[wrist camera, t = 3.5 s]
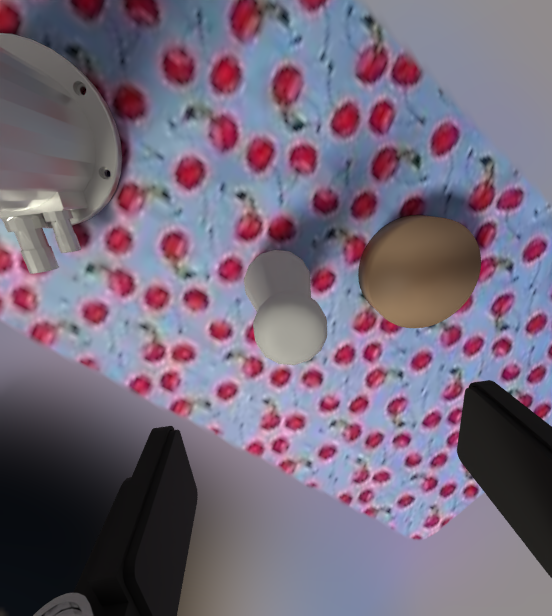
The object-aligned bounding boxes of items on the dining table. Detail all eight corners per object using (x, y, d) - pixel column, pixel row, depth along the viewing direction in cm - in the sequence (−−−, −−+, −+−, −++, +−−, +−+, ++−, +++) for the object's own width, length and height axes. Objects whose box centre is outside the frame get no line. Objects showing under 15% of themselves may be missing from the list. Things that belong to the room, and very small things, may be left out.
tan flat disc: (453, 309, 31) (473, 320, 29) (358, 321, 31) (369, 334, 28) (464, 208, 28) (488, 210, 25) (357, 222, 27) (369, 225, 25)
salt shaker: (276, 231, 27) (298, 263, 15) (317, 275, 29) (366, 336, 17) (231, 276, 28) (218, 339, 16) (274, 316, 30) (289, 399, 18)
